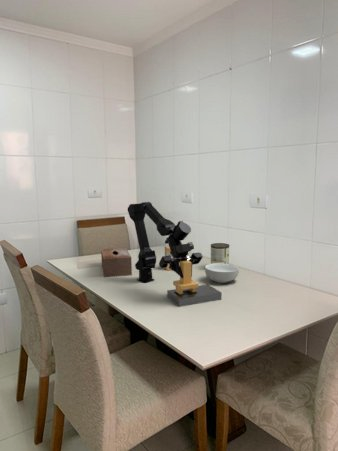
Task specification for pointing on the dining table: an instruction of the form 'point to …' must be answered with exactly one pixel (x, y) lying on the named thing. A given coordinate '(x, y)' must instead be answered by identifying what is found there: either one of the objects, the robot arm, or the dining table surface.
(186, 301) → the grey metal plate
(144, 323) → the dining table surface
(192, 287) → the orange post
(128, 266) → the tissue box cover
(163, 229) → the robot arm
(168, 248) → the supplement box
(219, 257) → the coffee can
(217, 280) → the cereal bowl
